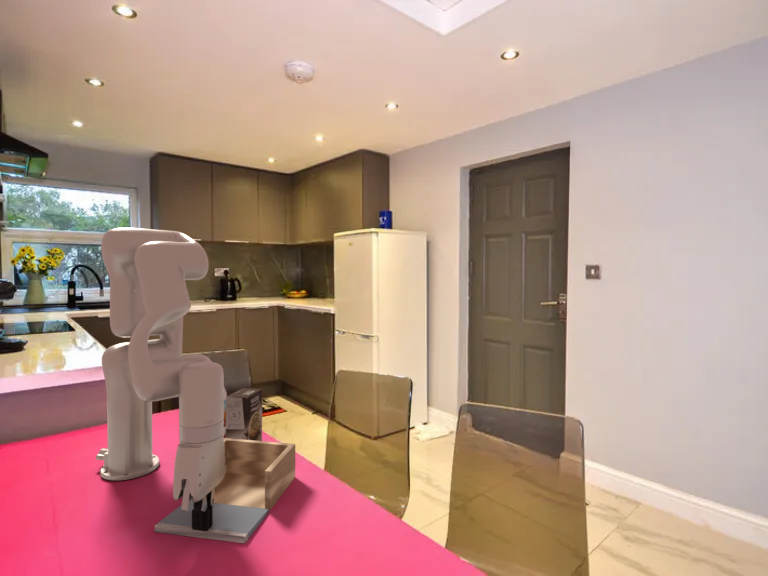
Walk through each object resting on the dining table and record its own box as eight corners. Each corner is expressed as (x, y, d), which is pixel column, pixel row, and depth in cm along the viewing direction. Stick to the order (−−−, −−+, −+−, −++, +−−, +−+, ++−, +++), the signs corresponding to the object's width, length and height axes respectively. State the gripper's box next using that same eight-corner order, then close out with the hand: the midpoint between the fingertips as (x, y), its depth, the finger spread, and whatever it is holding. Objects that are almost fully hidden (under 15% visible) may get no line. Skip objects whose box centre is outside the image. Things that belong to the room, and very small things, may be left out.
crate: (190, 505, 91) (189, 463, 91) (224, 474, 105) (224, 437, 105) (270, 514, 88) (270, 471, 88) (295, 481, 102) (295, 443, 102)
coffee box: (246, 458, 114) (246, 397, 113) (224, 455, 115) (224, 396, 115) (263, 444, 123) (263, 388, 122) (242, 442, 124) (242, 386, 124)
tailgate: (188, 504, 91) (154, 531, 80) (189, 498, 91) (154, 525, 80) (269, 513, 88) (244, 543, 78) (269, 507, 88) (244, 536, 78)
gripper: (206, 415, 87) (206, 504, 88) (155, 445, 72) (156, 551, 73) (240, 418, 86) (240, 507, 87) (196, 449, 71) (197, 557, 72)
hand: (202, 527), depth 80 cm, fingers closed
